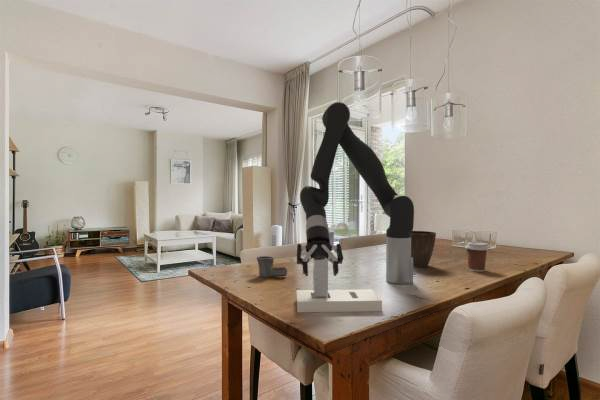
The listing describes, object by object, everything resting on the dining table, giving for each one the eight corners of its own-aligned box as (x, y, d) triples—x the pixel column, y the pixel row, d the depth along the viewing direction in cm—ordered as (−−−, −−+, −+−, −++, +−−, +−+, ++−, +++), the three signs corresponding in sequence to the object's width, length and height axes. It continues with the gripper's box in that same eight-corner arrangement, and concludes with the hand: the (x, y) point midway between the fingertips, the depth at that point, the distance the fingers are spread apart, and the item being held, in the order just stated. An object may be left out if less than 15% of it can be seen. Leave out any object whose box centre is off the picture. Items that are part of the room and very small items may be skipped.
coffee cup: (491, 272, 135) (491, 245, 135) (467, 271, 137) (467, 244, 137) (485, 268, 144) (485, 242, 144) (463, 267, 146) (463, 241, 146)
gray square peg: (326, 303, 96) (326, 257, 96) (327, 307, 92) (328, 260, 92) (313, 303, 96) (313, 257, 96) (314, 307, 92) (314, 260, 92)
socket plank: (371, 298, 100) (371, 289, 100) (382, 311, 89) (382, 300, 89) (296, 299, 99) (296, 290, 99) (297, 312, 88) (297, 301, 88)
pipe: (284, 279, 124) (284, 259, 124) (253, 277, 127) (254, 258, 127) (288, 275, 130) (288, 256, 130) (259, 274, 133) (259, 255, 133)
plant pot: (396, 264, 152) (396, 231, 152) (417, 261, 160) (417, 230, 160) (421, 270, 139) (421, 234, 139) (443, 266, 147) (443, 232, 147)
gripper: (296, 224, 101) (297, 268, 90) (339, 224, 102) (346, 267, 90) (295, 239, 106) (296, 281, 95) (337, 238, 107) (343, 280, 96)
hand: (321, 274), depth 93 cm, fingers open, 8 cm apart
